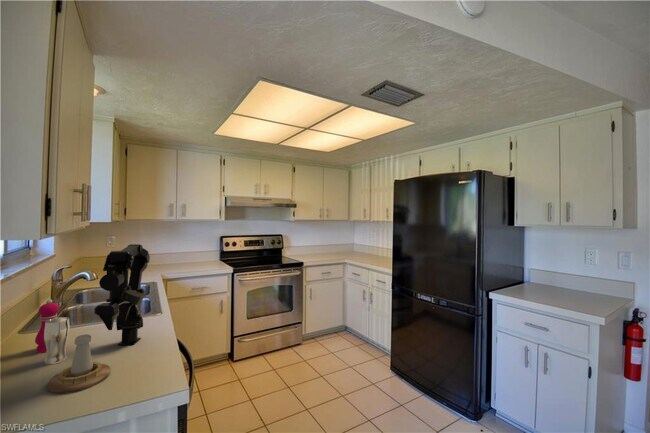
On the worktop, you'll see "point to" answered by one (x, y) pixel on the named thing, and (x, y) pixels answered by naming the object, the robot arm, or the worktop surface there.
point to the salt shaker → (82, 356)
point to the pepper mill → (46, 313)
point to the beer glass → (56, 339)
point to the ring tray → (80, 386)
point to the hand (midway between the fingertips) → (117, 325)
